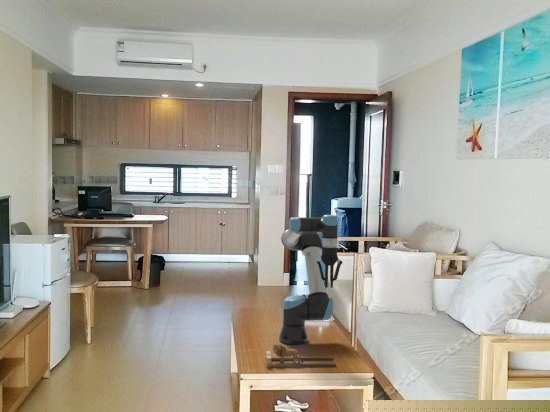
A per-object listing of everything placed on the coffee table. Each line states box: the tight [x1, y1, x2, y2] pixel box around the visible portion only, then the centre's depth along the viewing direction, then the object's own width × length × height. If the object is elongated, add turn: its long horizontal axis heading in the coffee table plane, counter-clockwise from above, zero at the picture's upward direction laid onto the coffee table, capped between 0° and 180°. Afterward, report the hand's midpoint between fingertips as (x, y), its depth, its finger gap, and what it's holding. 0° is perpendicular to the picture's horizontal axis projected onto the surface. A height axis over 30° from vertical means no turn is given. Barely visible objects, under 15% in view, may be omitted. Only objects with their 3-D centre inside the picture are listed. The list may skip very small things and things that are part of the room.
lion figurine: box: [272, 343, 305, 363], centre depth 249 cm, size 15×5×9 cm, turn 86°
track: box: [265, 350, 337, 368], centre depth 249 cm, size 10×32×4 cm, turn 94°
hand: (328, 294), depth 263 cm, fingers closed
